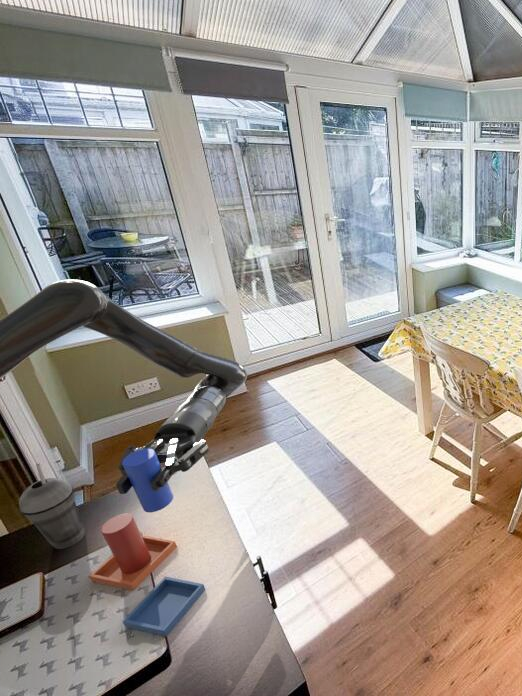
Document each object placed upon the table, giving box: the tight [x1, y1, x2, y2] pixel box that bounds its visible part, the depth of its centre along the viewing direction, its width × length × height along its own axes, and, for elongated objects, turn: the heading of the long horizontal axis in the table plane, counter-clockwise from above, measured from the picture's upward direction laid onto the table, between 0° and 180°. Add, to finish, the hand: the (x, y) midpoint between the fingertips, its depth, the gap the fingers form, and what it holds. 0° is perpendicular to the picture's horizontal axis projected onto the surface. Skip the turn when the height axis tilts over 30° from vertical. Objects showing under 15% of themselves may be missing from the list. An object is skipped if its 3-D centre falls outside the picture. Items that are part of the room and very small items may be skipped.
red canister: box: [100, 512, 151, 574], centre depth 78 cm, size 4×4×11 cm
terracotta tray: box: [88, 534, 178, 591], centre depth 80 cm, size 9×9×2 cm
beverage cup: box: [18, 463, 86, 550], centre depth 80 cm, size 7×7×20 cm
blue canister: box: [122, 448, 174, 513], centre depth 74 cm, size 4×4×11 cm
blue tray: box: [122, 576, 206, 638], centre depth 73 cm, size 8×8×2 cm
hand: (137, 488), depth 71 cm, fingers closed on blue canister, 4 cm apart
